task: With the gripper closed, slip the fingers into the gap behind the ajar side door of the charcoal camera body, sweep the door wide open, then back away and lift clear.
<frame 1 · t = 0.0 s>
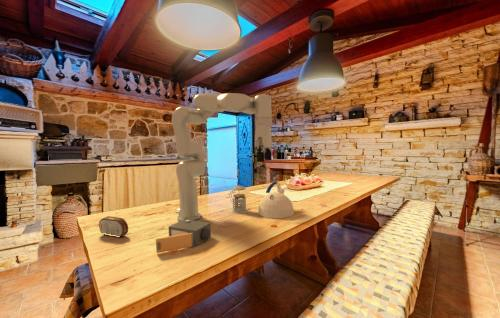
hand: (264, 160, 96), 31 cm above the table, tool pointing down, fingers open, 9 cm apart
camera body: (190, 238, 88), on the table
kettle: (275, 213, 120), on the table
side door: (175, 242, 78), point 3 cm above the table, hinge at 45.0°
tin: (113, 236, 94), on the table
french press: (238, 211, 126), on the table
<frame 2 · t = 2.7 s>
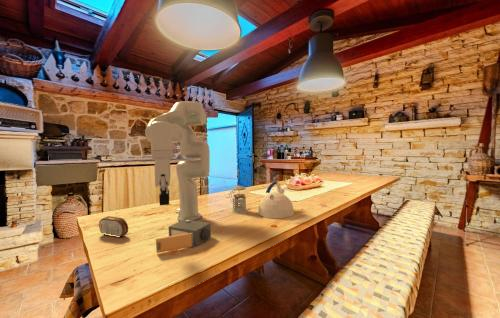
hand: (164, 202, 79), 18 cm above the table, tool pointing down, fingers open, 7 cm apart
nothing on the table moved.
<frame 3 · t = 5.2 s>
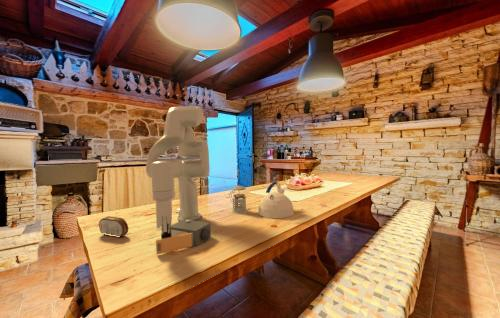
hand: (166, 242, 79), 3 cm above the table, tool pointing down, fingers closed
side door: (175, 243, 77), point 3 cm above the table, hinge at 50.1°, touching gripper
everything else where it was.
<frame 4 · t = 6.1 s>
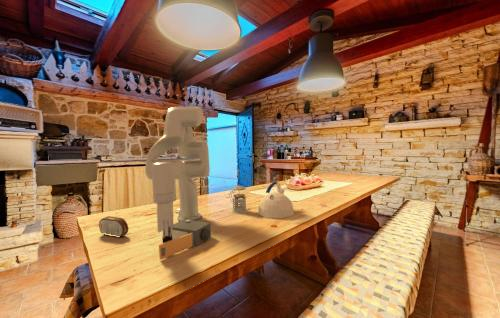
hand: (167, 246, 76), 2 cm above the table, tool pointing down, fingers closed
side door: (177, 245, 76), point 3 cm above the table, hinge at 72.5°, touching gripper
everything else where it was.
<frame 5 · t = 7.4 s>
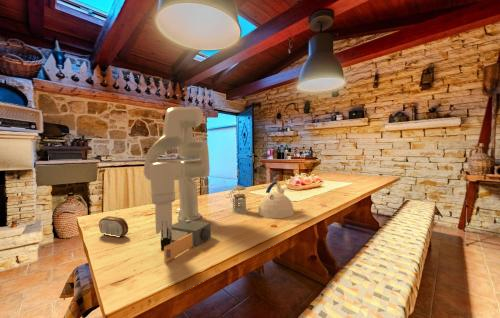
hand: (166, 249, 74), 2 cm above the table, tool pointing down, fingers closed
side door: (180, 246, 75), point 3 cm above the table, hinge at 86.6°
everything else where it was.
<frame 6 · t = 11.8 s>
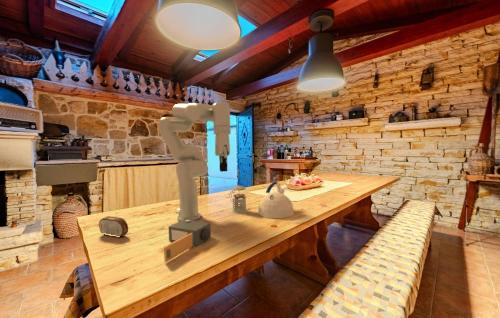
hand: (223, 171, 96), 27 cm above the table, tool pointing down, fingers closed
nothing on the table moved.
at the end: side door at +87° (first picture: +45°) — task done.
